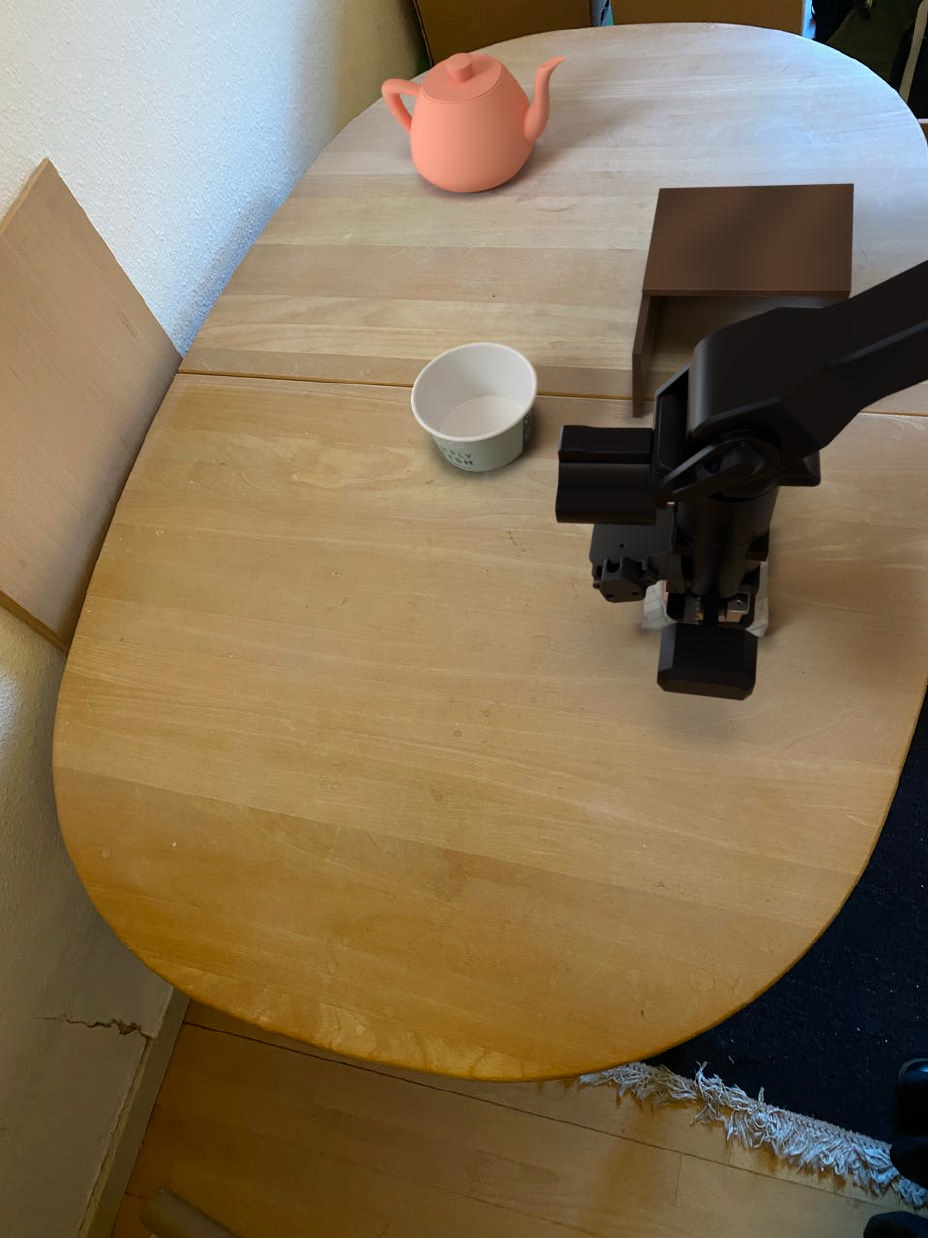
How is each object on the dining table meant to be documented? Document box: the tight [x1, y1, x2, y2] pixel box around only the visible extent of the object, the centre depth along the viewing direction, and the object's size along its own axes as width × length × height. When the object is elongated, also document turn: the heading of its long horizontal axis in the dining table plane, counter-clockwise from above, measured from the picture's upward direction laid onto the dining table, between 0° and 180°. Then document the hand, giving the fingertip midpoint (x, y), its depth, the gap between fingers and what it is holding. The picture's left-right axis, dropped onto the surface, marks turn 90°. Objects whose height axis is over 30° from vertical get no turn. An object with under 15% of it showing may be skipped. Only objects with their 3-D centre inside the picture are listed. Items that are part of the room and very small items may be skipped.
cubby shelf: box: [631, 182, 855, 419], centre depth 79 cm, size 18×21×9 cm
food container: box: [410, 341, 539, 473], centre depth 80 cm, size 12×12×6 cm
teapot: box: [381, 52, 565, 193], centre depth 98 cm, size 22×15×12 cm
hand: (704, 624), depth 66 cm, fingers closed
